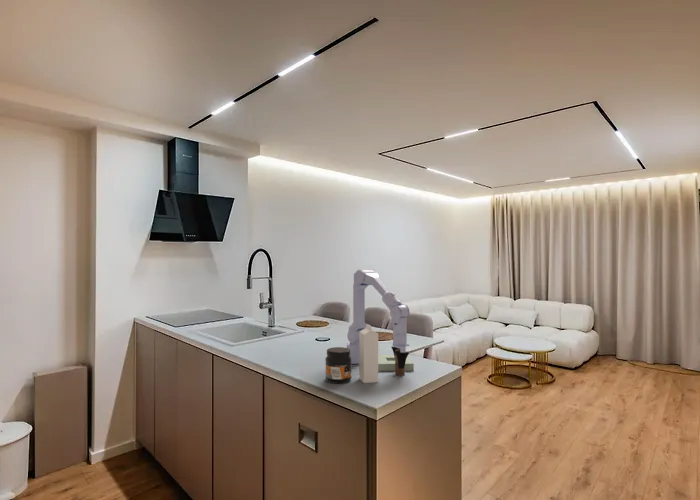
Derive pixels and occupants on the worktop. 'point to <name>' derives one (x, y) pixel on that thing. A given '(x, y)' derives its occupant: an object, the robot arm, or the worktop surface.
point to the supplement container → (338, 365)
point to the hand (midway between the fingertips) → (399, 365)
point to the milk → (368, 355)
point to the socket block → (392, 363)
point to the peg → (397, 370)
